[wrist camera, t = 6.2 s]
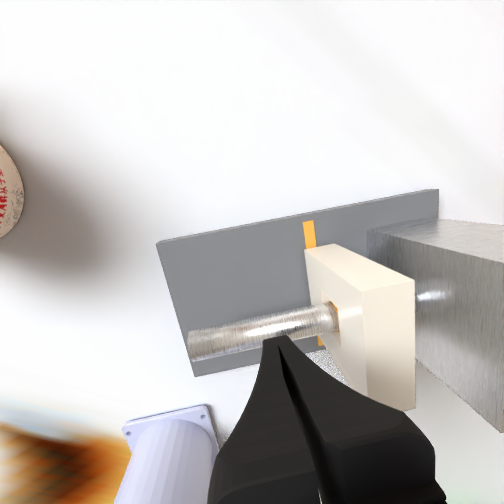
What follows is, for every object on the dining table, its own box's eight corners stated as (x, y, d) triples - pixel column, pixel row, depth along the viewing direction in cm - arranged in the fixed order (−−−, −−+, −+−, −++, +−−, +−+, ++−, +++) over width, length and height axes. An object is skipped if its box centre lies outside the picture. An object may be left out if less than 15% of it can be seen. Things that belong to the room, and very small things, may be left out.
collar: (342, 323, 19) (415, 408, 12) (314, 329, 19) (369, 418, 12) (334, 243, 18) (414, 280, 10) (304, 249, 18) (361, 291, 10)
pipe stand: (425, 307, 20) (602, 408, 11) (212, 352, 20) (192, 506, 10) (426, 217, 18) (644, 240, 9) (189, 264, 18) (136, 347, 8)
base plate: (425, 318, 22) (437, 325, 21) (196, 367, 21) (194, 378, 20) (426, 189, 19) (440, 189, 18) (160, 240, 18) (155, 244, 17)
